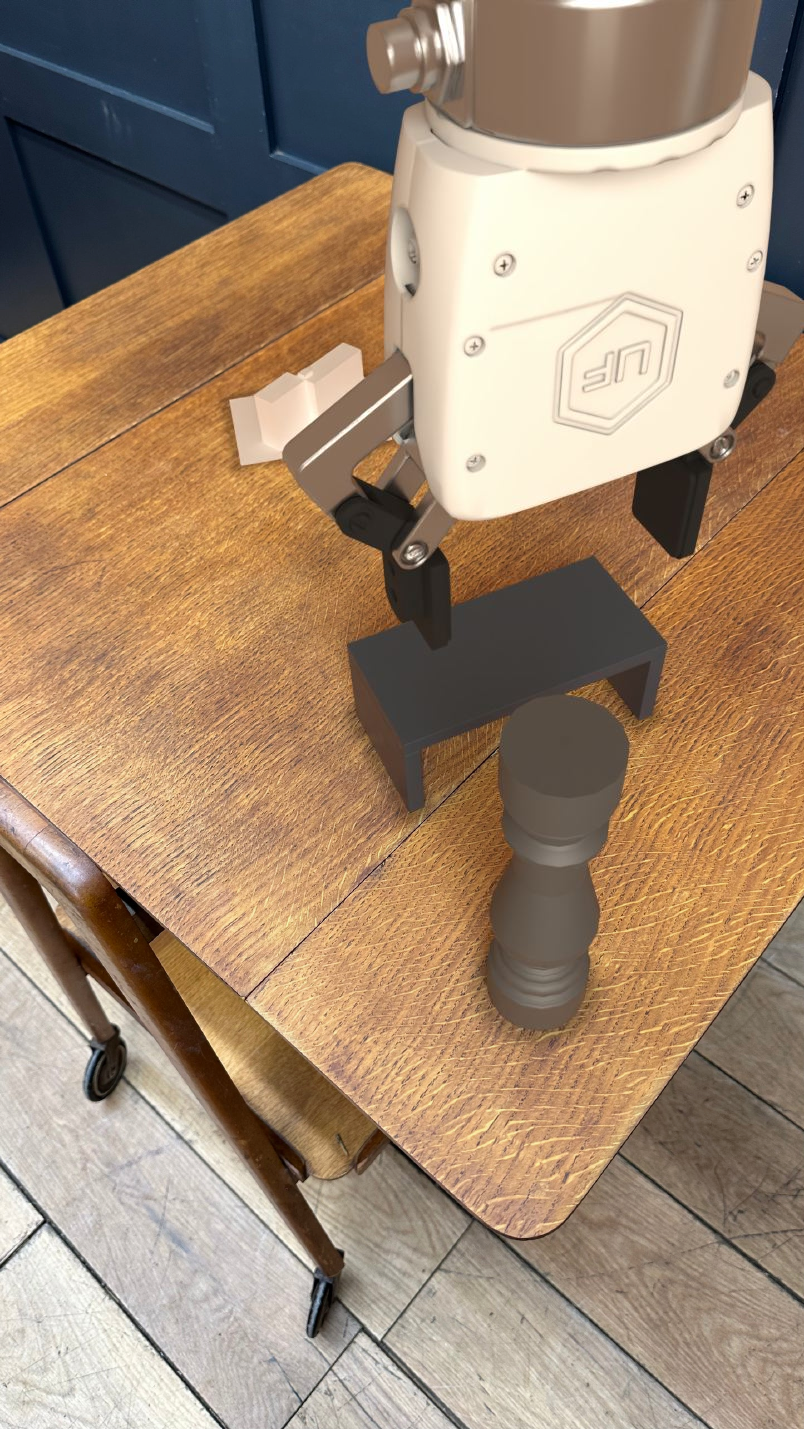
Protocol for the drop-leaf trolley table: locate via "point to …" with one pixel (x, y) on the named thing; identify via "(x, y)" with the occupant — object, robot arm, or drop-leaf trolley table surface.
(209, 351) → the drop-leaf trolley table surface
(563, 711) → the candle holder
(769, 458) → the drop-leaf trolley table surface
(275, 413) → the napkin holder
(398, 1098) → the drop-leaf trolley table surface
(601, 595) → the shelf
